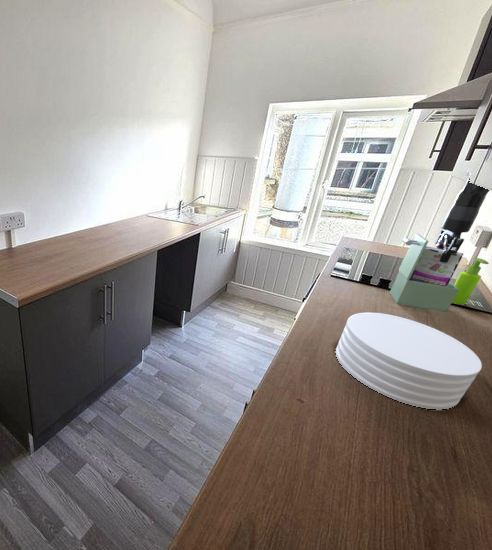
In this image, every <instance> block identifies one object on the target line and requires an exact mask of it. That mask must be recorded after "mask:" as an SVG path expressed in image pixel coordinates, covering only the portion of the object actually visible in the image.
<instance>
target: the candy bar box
mask: <svg viewBox="0 0 492 550" xmlns="http://www.w3.org/2000/svg"><path fill="white" fill-rule="evenodd" d="M443 252H444V250H443V249H438V248H437V247H432V246H428V245H427V246H426V247H425V249H424V251H423V253H422V255H421V257H420V259H419V261H418V263H417V265H416V267H415V269H414V271H413V273H412V275H411V278H410V280H411V281H416V282H422V283H428V284H433V285H439V286H445V287H447V286H448V284H449V282H451V280H452V278H453V276H454V274H455V272H456V270H457V268H458V266H459V265H460V262H461V261H462V258H463V256H464V253H463V252H458V251H457V253H456V254H454V253H453V254H451V256H450V258H449V260H448V262H447V263H445V262H440V261H439V260H440V258H441V256H442V254H443Z"/></svg>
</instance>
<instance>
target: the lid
mask: <svg viewBox="0 0 492 550" xmlns="http://www.w3.org/2000/svg"><path fill="white" fill-rule="evenodd" d="M401 241H402V242H403V243H404V244H405V245H406V246H409V248H408V249H407V252H406V253H405V256H404V258H403V260H402V262H401V264H400V266H399V268H398V272H399V271H400V272H401V273H402V274H403V275H404V277H405V278H406V279H408V280H409V279H410V277H411V275H412V273H413V271H414V269H415V267H416V265H417V263H418V261H419V259H420V257H421V255H422V253H423V251H424V249H425V247H426V246H428V244H429V242H430V241H429V240H428V239H426V238H425V237H423V236H422V235H420V234H419V233H415V235H414V237H413V239H410V238H408V237H407V236H406V237H403V238H402V239H401Z"/></svg>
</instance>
